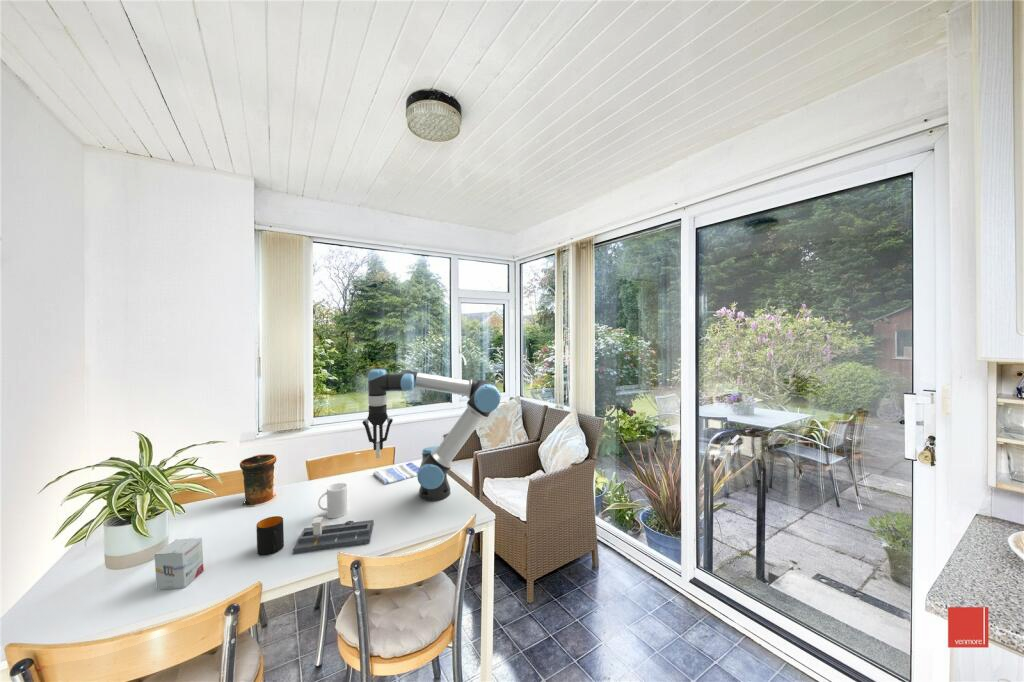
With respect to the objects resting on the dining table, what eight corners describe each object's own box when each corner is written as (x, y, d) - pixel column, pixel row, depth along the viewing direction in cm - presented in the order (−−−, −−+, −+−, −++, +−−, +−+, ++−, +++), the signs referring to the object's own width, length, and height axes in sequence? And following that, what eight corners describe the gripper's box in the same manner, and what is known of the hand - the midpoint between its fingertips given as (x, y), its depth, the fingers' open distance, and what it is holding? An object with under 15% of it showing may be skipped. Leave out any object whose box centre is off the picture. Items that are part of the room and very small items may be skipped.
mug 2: (319, 522, 154) (318, 494, 154) (317, 513, 162) (317, 487, 161) (349, 515, 160) (349, 488, 160) (346, 506, 168) (346, 481, 167)
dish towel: (372, 476, 203) (372, 471, 203) (412, 465, 218) (412, 461, 218) (384, 486, 190) (384, 481, 190) (425, 474, 205) (425, 469, 205)
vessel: (279, 501, 172) (276, 459, 171) (241, 510, 164) (238, 467, 163) (278, 490, 184) (275, 451, 183) (242, 498, 176) (240, 457, 175)
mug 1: (263, 563, 128) (262, 534, 127) (254, 549, 136) (253, 522, 135) (290, 552, 134) (289, 525, 133) (280, 539, 142) (279, 513, 141)
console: (373, 524, 153) (373, 517, 153) (369, 543, 139) (369, 535, 139) (304, 533, 146) (304, 525, 146) (293, 554, 133) (292, 545, 133)
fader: (323, 531, 144) (322, 516, 143) (320, 537, 140) (320, 522, 139) (314, 532, 143) (314, 517, 143) (311, 538, 139) (311, 523, 139)
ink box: (177, 572, 123) (176, 537, 123) (204, 570, 124) (203, 536, 124) (154, 590, 115) (153, 553, 114) (184, 588, 116) (182, 552, 115)
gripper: (393, 401, 168) (394, 452, 169) (363, 403, 165) (363, 455, 166) (392, 405, 161) (393, 458, 162) (360, 407, 157) (361, 461, 158)
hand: (378, 456), depth 164 cm, fingers closed
